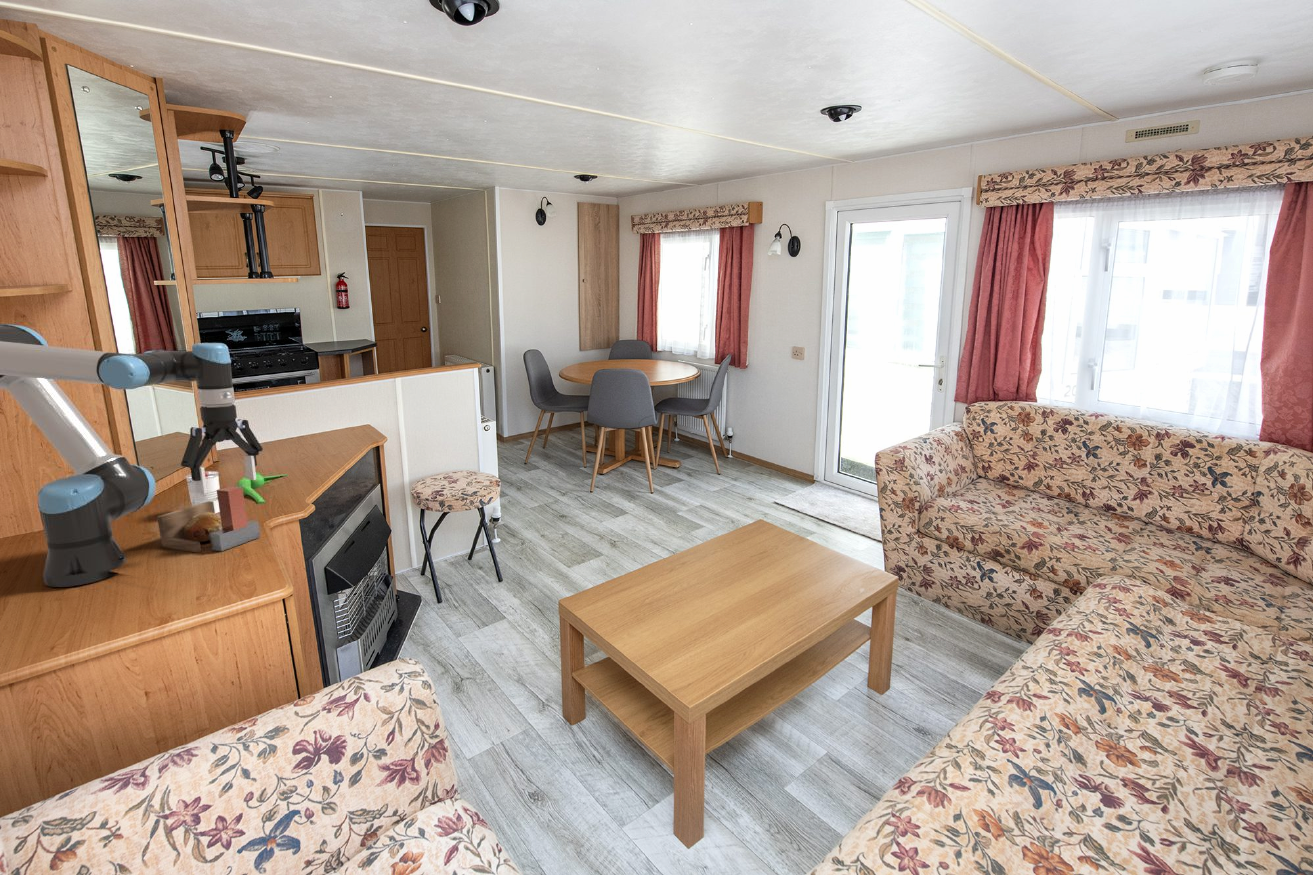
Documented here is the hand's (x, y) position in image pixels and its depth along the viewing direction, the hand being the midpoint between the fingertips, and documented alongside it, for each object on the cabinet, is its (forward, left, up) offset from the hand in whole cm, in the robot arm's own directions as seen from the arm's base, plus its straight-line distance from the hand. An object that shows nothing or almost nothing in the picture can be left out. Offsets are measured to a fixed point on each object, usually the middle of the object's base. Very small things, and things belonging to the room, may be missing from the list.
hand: (227, 485), depth 166 cm
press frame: (0, +10, -16) cm, 19 cm away
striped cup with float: (+17, +33, -16) cm, 41 cm away
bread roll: (0, +9, -17) cm, 19 cm away
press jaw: (0, 0, -16) cm, 16 cm away
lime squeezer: (+39, +38, -17) cm, 57 cm away
